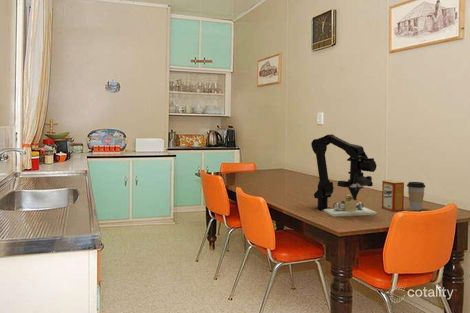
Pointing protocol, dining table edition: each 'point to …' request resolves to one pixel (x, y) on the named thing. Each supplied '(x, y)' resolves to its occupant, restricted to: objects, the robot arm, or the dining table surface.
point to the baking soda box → (392, 195)
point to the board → (350, 212)
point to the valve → (348, 205)
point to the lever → (352, 198)
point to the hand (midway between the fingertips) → (354, 200)
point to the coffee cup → (415, 195)
